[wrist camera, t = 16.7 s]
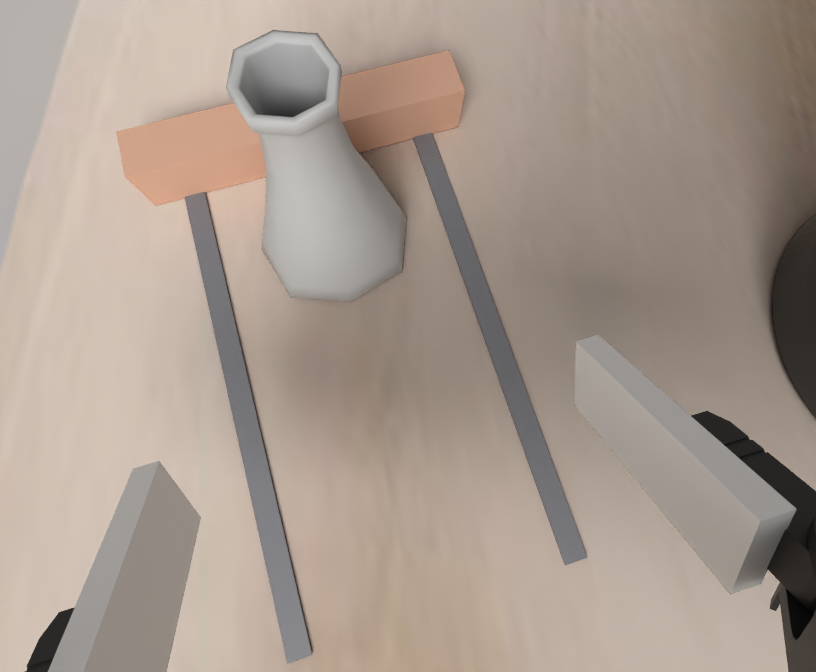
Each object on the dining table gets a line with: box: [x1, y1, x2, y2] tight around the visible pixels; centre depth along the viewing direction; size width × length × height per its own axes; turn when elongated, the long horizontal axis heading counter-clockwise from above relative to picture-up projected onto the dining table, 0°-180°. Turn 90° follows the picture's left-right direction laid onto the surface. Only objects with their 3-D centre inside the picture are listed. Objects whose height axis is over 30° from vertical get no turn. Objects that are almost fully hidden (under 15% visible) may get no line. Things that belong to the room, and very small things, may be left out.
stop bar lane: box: [116, 50, 587, 663], centre depth 19 cm, size 16×24×2 cm
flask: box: [226, 30, 406, 302], centre depth 17 cm, size 7×7×10 cm
